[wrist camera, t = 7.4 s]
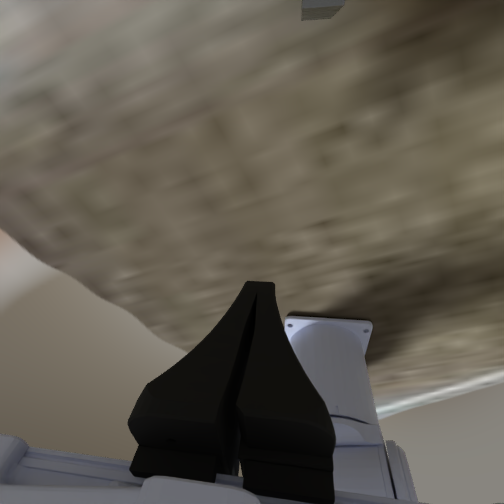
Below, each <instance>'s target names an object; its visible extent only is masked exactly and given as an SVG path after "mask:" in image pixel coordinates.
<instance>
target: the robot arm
mask: <svg viewBox="0 0 504 504" xmlns="http://www.w3.org/2000/svg"><path fill="white" fill-rule="evenodd" d="M372 328H373V325H372V323H371V322H370V321H364V320H348V319H332V318H317V317H301V316H287V317H286V318H285V329H284V327H283V324H282V321H281V318H280V314H279V311H278V307H277V303H276V297H275V284H274V283H273V282H259V281H247V282H245V284H244V286H243V288H242V290H241V291H240V293H239V295H238V296H237V298H236V299H235V301H234V302H233V304H232V305H231V307H230V308H229V310H228V311H227V312H226V314H225V315H224V316H223V317H222V319H221V320H220V321H219V322H218V324H217V325H216V326H215V327H214V328H213V330H212V331H211V332H210V333H209V334H208V335H207V336H206V337H205V338H204V339H203V340H202V341H201V342H200V343H199V344H198V345H197V346H196V347H195V348H194V349H193V350H192V351H191V352H189V353H188V354H187V355H186V356H185V357H184V358H182V359H181V360H180V361H179V362H177V363H176V364H175V365H174V366H172V367H171V368H170V369H168V370H167V371H166V372H164V373H163V374H161V375H160V376H158V377H157V378H155V379H154V380H153V381H151V382H150V383H148V384H147V385H146V387H145V388H144V390H143V391H142V393H141V395H140V396H139V398H138V400H137V402H136V405H135V407H134V409H133V411H132V413H131V415H130V418H129V419H128V426H129V429H130V431H131V433H132V435H133V436H134V438H135V440H136V441H137V443H138V444H139V446H138V449H137V451H136V453H135V456H134V458H133V461H127V460H120V459H113V458H106V457H99V456H92V455H85V454H78V453H71V452H64V451H57V450H50V449H43V448H36V447H29V446H28V444H27V443H26V442H25V441H24V440H23V439H21V438H19V437H17V436H13V435H6V434H0V504H426V503H420V502H418V499H417V496H416V492H415V488H414V484H413V480H412V477H411V473H410V469H409V465H408V462H407V458H406V455H405V452H404V450H403V449H402V448H400V447H399V446H398V445H396V443H395V441H393V440H390V441H389V440H388V441H386V446H387V451H388V455H387V451H386V447H385V443H384V440H383V436H382V433H381V429H380V426H379V422H378V417H377V413H376V408H375V403H374V399H373V394H372V389H371V385H370V380H369V375H368V371H367V366H366V361H365V353H366V350H367V346H368V342H369V339H370V335H371V332H372ZM365 329H366V330H365ZM388 456H389V459H388ZM239 462H240V463H241V470H242V475H243V477H239V476H238V473H239ZM495 504H504V503H495Z"/></svg>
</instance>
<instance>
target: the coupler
mask: <svg viewBox="0 0 504 504" xmlns="http://www.w3.org/2000/svg"><path fill="white" fill-rule="evenodd" d="M344 2H345V0H302V17H301V21H304V20H317V19H331V18H332V17H333V16H334V15H335V14H336V13H337V12H338V11H339V10H340V9H341V8H342V7H343V6H344Z"/></svg>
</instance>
